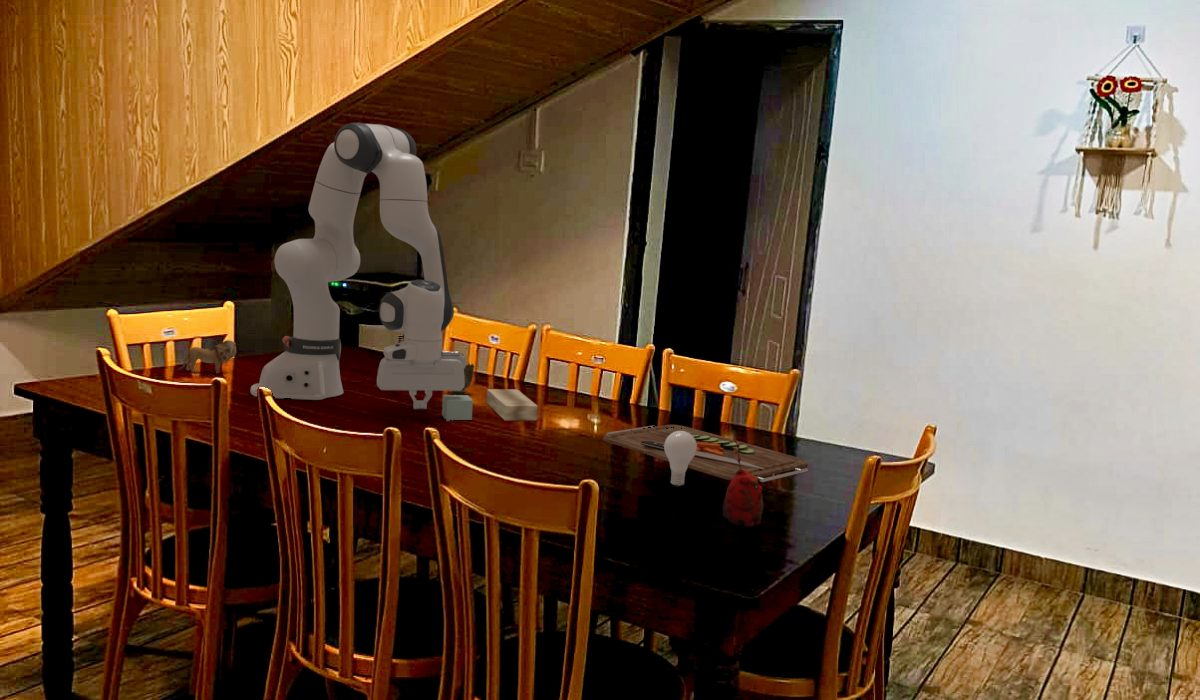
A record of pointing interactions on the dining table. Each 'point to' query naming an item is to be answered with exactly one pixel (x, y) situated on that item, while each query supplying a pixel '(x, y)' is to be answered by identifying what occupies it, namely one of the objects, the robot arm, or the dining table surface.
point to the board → (511, 404)
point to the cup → (466, 378)
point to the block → (457, 407)
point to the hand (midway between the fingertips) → (419, 408)
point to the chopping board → (711, 452)
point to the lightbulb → (679, 454)
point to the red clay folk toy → (743, 497)
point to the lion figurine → (211, 355)
